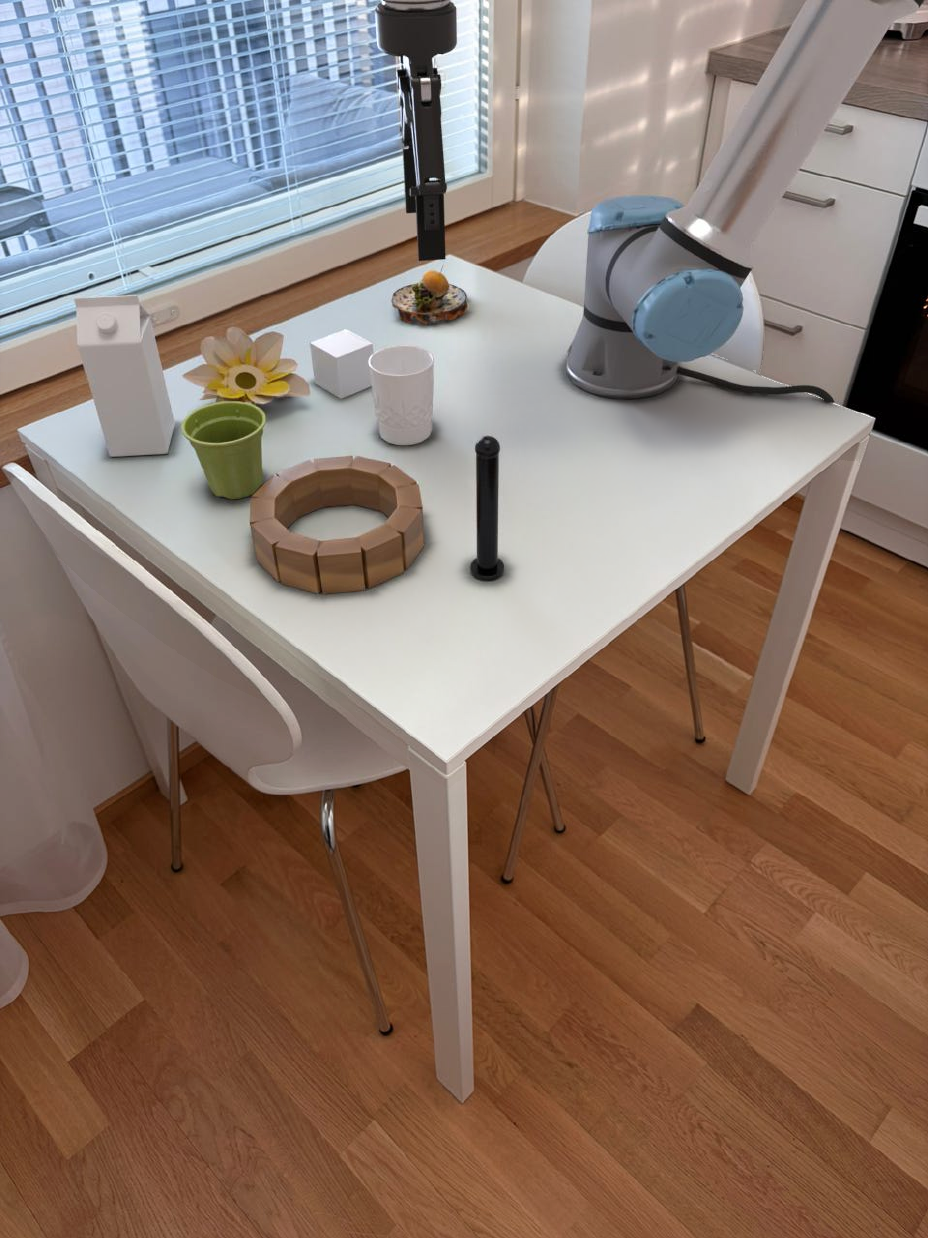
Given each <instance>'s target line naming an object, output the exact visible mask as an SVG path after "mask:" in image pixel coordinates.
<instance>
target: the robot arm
mask: <svg viewBox="0 0 928 1238" xmlns="http://www.w3.org/2000/svg"><path fill="white" fill-rule="evenodd" d="M380 1H381V2H379V3H378V4H377V6H376V7H375V9H374V13H375V14H374V15H375V17H374V18H375V32H376V45H377V48H378V49H379V51H380V52H382V53H383V54H385V55H388V56H392V57H396V58H397V57H399V58H398V59H399V69H396V72H395V73H396V75H395V77H396V85H397V89H398V101H399V107H400V108H399V109H400V110H399V111H400V112H399V113H400V126H399V132H400V133H401V144H402V146H403V147H405V148H402V162H403V163H402V165H403V181H404V182H403V183H404V198H405V199H404V200H405V213H406V214H415V217H416V219H415V221H416V241H417V260H418V262H426V261H442V260H446V259H447V257H446V224H445V223H446V222H445V220H446V219H445V195H446V194H447V190H448V184H447V182H446V169H445V158H444V143H443V142H444V141H443V130H442V103H441V93H442V77H441V74H440V73H439V72H438V67H434V62H433V58H434V57H437V56H438V55H445V54H449V53H450V52H452V51H454V49H455V48H456V47H457V45H458V23H457V22H458V21H457V19H458V17H457V15H458V14H457V13H458V11H457V6H456V5H455V3H453V1H451V0H380ZM924 2H925V0H805V2H804V4H803V5H802V7H801V9H800V10H799V12H798V14H797V16H796V17H795V19H794V21H793V22H792V24H791V26H790V28H789V29H788V31H787V33H786V34H785V36H784V38H783V39H782V41H781V42H780V44H779V46H778V48H777V50H776V52H775V53H774V55H773V57H772V59H771V60H770V62H769V64H768V65H767V67H766V69H765V70H764V71H763V74H762V76H761V77H760V79H759V81H758V83H757V84H756V86H755V88H754V89H753V91H752V93H751V95H750V96H749V98H748V99H747V102H746V103H745V105H744V106H743V108H742V110H741V112H740V113H739V115H738V117H737V119H736V120H735V122H734V124H733V125H732V127H731V129H730V131H729V133H728V134H727V136H726V138H725V139H724V141H723V143H722V144H721V146H720V148H719V150H718V151H717V153H716V155H715V156H714V158H713V159H712V161H711V163H710V164H709V166H708V168H707V170H706V172H705V174H704V175H703V177H702V179H701V180H700V182H699V184H698V186H697V187H696V189H695V191H694V192H693V194H692V196H691V197H690V199H689V201H688V203H687V204H686V205H684V204H683V203H682V202H681V201H679V200H677V199H675V198H670V197H666V196H659V195H625V196H619V197H618V196H617V197H612V198H608V199H606V200H602V201H601V202H599V203H597V204H596V205H594V207H593V208H592V210H591V214H590V217H589V219H590V220H589V225H588V228H587V234H588V235H587V250H586V263H585V264H586V265H585V280H584V281H585V282H584V296H583V297H584V298H583V312H582V318H581V320H580V323H579V326H578V328H577V330H576V333H575V334H574V338H573V339H572V341H571V344H570V345H569V348H568V349H567V351H566V355H565V356H567V358H566V365H565V366H566V367H565V371H566V375H567V377H568V379H569V381H571V382H572V383H573V384H574V385H575V386H577V387H578V388H580V389H582V390H583V391H586V392H588V393H591V394H593V395H596V396H600V397H606V398H613V399H622V400H623V399H627V400H628V399H642V398H648V397H652V396H656V395H658V394H661V393H663V392H665V391H667V390H669V389H670V388H671V387H672V386H673V385H674V384H675V383H676V381H677V378H678V375H680V376H684V377H688V378H691V379H694V380H698V381H701V382H705V383H708V384H711V385H714V386H717V387H721V388H724V389H726V390H729V391H732V392H737V393H741V394H742V393H743V394H753V395H754V394H755V395H773V396H774V395H787V394H788V395H790V394H801V393H805V394H811V395H815V396H817V397H819V398H820V399H822V400H823V401H824V402H825V403H828V404H834V403H835V399H834V398H833V396H832V395H831V394H830V393H829V392H828V391H826V390H825V389H823V388H821V387H819V386H815V385H810V384H809V385H808V384H799V385H798V384H797V385H789V386H757V385H754V386H753V385H745V384H739V383H735V382H731V381H728V380H725V379H722V378H720V377H717V376H713V375H710V374H706V373H703V372H700V371H696V370H693V369H689V368H686V367H683V366H682V367H681V366H679V363H687V362H693V361H695V360H697V359H699V358H706V357H708V356H710V355H712V354H713V353H715V352H716V351H718V350H719V349H720V348H722V347H723V346H724V345H725V344H726V343H727V342H728V341H729V340H730V339H731V338H732V337H733V335H734V334H735V332H736V331H737V330H738V327H739V326H740V324H741V321H742V319H743V314H744V309H745V307H744V305H743V302H744V297H743V295H744V294H743V292H742V289H741V287H742V286H743V285H744V283H745V281H746V280H747V278H748V276H749V275H750V273H751V272H752V270H753V268H754V267H755V265H756V261H755V255H754V250H753V244H754V242H755V241H756V239H757V237H758V236H759V235H760V233H761V232H762V230H763V228H764V226H765V225H766V223H767V221H768V220H769V218H771V216H772V214H773V213H774V210H775V209H776V208H777V206H778V204H779V203H780V201H781V199H782V198H783V196H784V195H785V193H786V191H787V190H788V189H789V187H790V185H791V184H792V182H793V181H794V179H795V178H796V176H797V174H798V173H799V171H800V169H801V168H802V166H803V165H804V163H805V162H806V160H807V158H808V156H809V155H810V153H811V152H812V151H813V149H814V148H815V146H816V144H817V142H818V141H819V140H820V138H821V136H822V134H823V133H824V131H825V130H826V128H827V126H828V125H829V123H830V122H831V120H832V119H833V117H834V115H835V114H836V112H837V111H838V110H839V108H840V106H841V105H842V103H843V101H844V100H845V98H846V96H847V95H848V93H849V91H850V90H851V89H852V87H853V85H854V84H855V82H856V81H857V79H858V78H859V76H860V74H861V73H862V72H863V70H864V68H865V67H866V66H867V64H868V62H869V60H870V58H871V57H872V56H873V53H874V52H875V50H876V49H877V48H878V46H879V44H880V43H881V41H882V39H883V38H884V36H885V34H886V33H887V31H888V30H889V29H890V26H892V24H893V23H894V22H895V21H898V20H900V19H902V18H905V17H908V16H910V15H913V14H916V13H918V11H919V10H920V8H921V6H922V5H923V4H924ZM431 179H432V180H431Z"/></svg>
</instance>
